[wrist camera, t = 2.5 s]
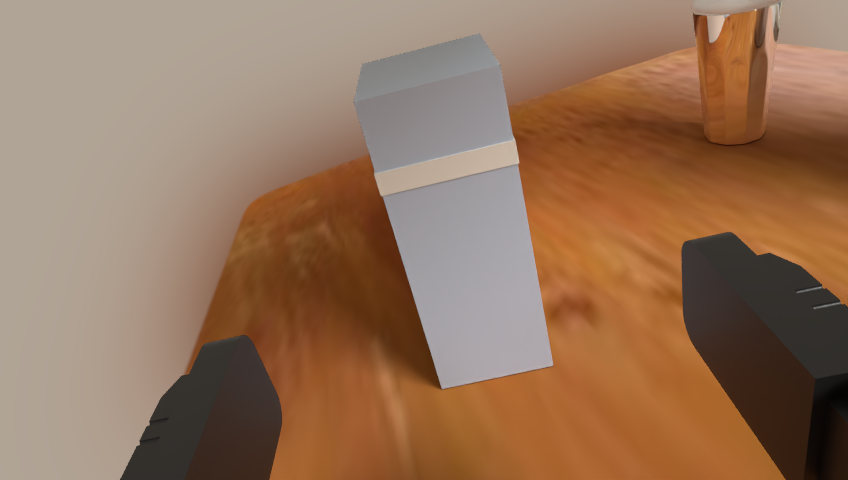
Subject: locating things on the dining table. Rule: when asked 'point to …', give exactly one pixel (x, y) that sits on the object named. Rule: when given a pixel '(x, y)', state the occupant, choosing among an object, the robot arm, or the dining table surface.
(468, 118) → the tall grey box
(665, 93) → the dining table surface
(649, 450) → the dining table surface
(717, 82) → the milkshake
